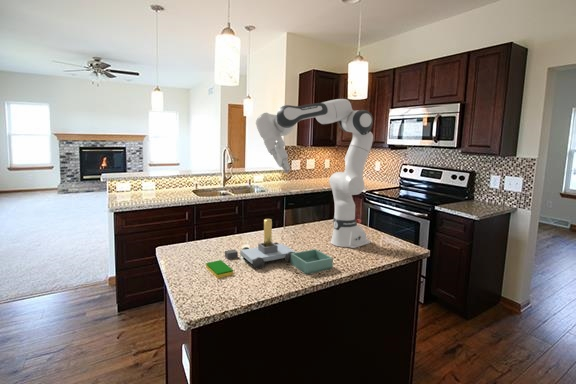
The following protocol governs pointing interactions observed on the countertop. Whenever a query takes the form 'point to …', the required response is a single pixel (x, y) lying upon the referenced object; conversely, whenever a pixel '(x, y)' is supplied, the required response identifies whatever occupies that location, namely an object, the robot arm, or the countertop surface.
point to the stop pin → (267, 232)
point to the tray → (311, 261)
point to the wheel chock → (231, 254)
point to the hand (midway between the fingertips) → (288, 171)
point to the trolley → (266, 254)
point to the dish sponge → (219, 269)
